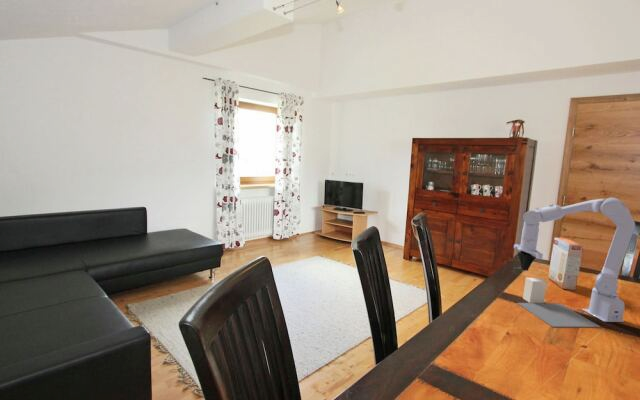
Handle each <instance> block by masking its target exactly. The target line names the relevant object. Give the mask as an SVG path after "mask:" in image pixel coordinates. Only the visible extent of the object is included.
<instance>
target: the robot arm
mask: <svg viewBox="0 0 640 400" xmlns="http://www.w3.org/2000/svg"><path fill="white" fill-rule="evenodd" d="M588 211H590V212H593V213H599V212H601V213H602V214H603V215H604V216H605V217H607V218H609V219H610V220H611V221H612V222H613V223H614V224H615V225H616V228H615V232H614V235H613V237H612V240H611V243H610V246H609V249H608V252H607V255H606V258H605V261H604V264H603V267H602V268H601V269H602V270H601V271H600V273H598V274H597V275H596V276H595V283H594V287H593V288H592V290H591V295H590V301H589V307H588V308H582V311H584V312H586V313H587V314H590V315H591V316H593V317H595V318H597V319H599V320H601V322H604V323H624V322H625V320H623V317H624V313H625V302H624V301H623V300H622V299H621V298H619V296H618V295H619V293H618V289H619V288H618V286H619V285H618V281H619V280H618V279H619V273H620V270H621V267H622V265H623V262H624V258H625V256H626V253H627V250H628V247H629V244H630V242H631V238H632V235H633V234H634V230H635V227H636V222H635V220H634V219H633V216H632V215H631V212H630V210H629V208H628V207H627V205H626V204H625V203H624V202H622V201H621V200H620V199H619V198H617V197H608V198H607V197H606V198H598V199H590V200H586V201H582V202H578V203H574V204H570V205H564V206H560V205H558V204H553V203H551V204H549V205H548V206H544V207H536V208H535V209H530V210H528V211H526V212H525V213H524V214H523V216H522V217H523V218H522V219H523V226H522V231H521V238H520V244H518V243H514V245H513V249H514V250H518V251H519V252H517V256H518V258H519V262H520V269H521V271H529V269H530V267H531V265H532V263H533V262H534V261H535V260H536V259H538V260H541V259H542V260H543V255H544V254H543V253H542V252H540V251H538V250H537V246H538V238H539V233H540V232H539V231H540V228H539V227H540V223H546V222H551V221H557V220H561V219H562V218H563V217H564V216H565V215H570V214H576V213H582V212H588Z"/></svg>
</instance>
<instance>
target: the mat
mask: <svg viewBox="0 0 640 400" xmlns="http://www.w3.org/2000/svg"><path fill="white" fill-rule="evenodd" d="M516 303H517V305H519V306H520V307H522V309H524V310H526V311H528V312H530V313H531V314H532V315H534V316H535V317H537V318H538V319H540V320H541V321H543V322H544V323H546V324H547V325H549V326H550V327H551V328H602V327H601V326H600V325H599V324H597V323H595V322H594V321H592V320H590V319H588V318H586V316H585V317H584V316H583V315H581V314H579V313H577V312H575V311H574V310H572V309H570V308H568V307H567V306H566V305H564V304H561V303H559V302H558V303H551V302H547V303H546V302H544V303H529V302H516Z"/></svg>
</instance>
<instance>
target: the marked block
mask: <svg viewBox="0 0 640 400" xmlns="http://www.w3.org/2000/svg"><path fill="white" fill-rule="evenodd" d="M546 290H547V280H545V279H543V278H541V277H525V280H524V288H523V294H522V299H523V300H525V301H526V302H527V303H545V297H546Z"/></svg>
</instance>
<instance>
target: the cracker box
mask: <svg viewBox="0 0 640 400" xmlns="http://www.w3.org/2000/svg"><path fill="white" fill-rule="evenodd" d="M551 250H552V251H551V257H550V264H549V269H548V274H547V275H548V276H547V279H548V278H549V279H548V280H550V281H551V282H552V283H554V284H555V285H556V286H558V288H559V287H560V288H561V290H562V289H563V290H568V291H569V290H570V291H576V290H577V284H578V278H579V273H580V267H581V264H582V263H581V262H582V258H583V257H582V256H583V250H584V245H582V244H580V243H577V242H576V241H573V240H572V239H569V238H565V237H554V239H553V245H552V249H551Z"/></svg>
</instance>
